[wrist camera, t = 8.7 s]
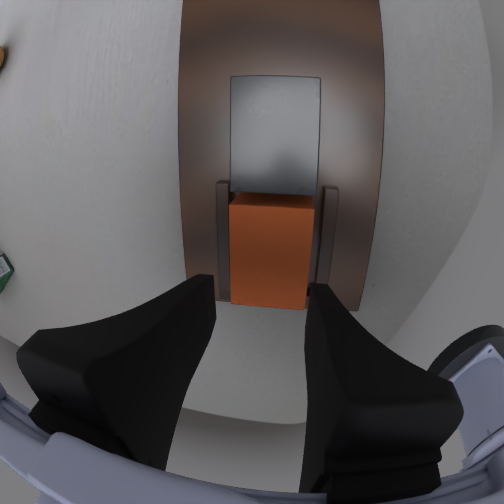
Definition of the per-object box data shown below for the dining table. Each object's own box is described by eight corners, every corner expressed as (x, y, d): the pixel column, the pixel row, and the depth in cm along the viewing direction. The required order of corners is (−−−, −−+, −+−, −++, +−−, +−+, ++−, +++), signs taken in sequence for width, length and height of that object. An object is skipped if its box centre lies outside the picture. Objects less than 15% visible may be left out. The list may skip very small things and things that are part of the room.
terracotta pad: (304, 279, 18) (304, 310, 15) (242, 274, 19) (230, 303, 16) (311, 194, 16) (314, 209, 13) (242, 190, 17) (228, 204, 13)
